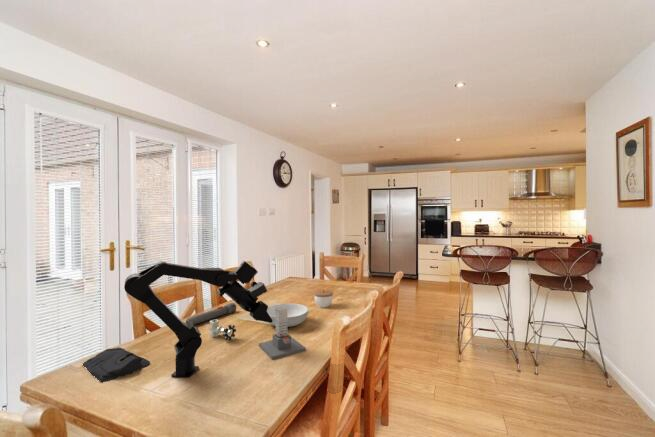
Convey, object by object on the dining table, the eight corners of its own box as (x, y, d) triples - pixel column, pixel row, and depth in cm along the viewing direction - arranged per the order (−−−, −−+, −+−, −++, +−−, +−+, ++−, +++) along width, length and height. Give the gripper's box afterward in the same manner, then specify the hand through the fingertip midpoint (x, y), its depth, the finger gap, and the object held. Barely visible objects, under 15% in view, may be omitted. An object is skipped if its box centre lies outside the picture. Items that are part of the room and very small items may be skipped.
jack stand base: (271, 359, 115) (271, 345, 114) (258, 345, 126) (258, 332, 126) (305, 350, 122) (305, 337, 122) (290, 338, 134) (290, 325, 134)
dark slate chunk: (126, 350, 124) (125, 338, 124) (153, 366, 111) (152, 353, 111) (78, 366, 111) (78, 353, 111) (102, 386, 99) (102, 371, 98)
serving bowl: (256, 329, 144) (256, 315, 144) (275, 315, 164) (275, 302, 164) (300, 333, 139) (300, 318, 139) (313, 318, 159) (313, 304, 159)
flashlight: (183, 327, 148) (183, 316, 148) (230, 310, 172) (230, 301, 172) (190, 329, 146) (190, 318, 146) (236, 312, 170) (236, 303, 170)
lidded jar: (311, 304, 182) (311, 288, 181) (328, 302, 186) (328, 286, 186) (318, 310, 172) (318, 293, 172) (336, 307, 176) (336, 290, 176)
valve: (205, 337, 135) (224, 343, 129) (204, 322, 135) (224, 327, 129) (217, 332, 141) (236, 337, 135) (217, 317, 141) (236, 322, 135)
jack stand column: (279, 339, 122) (279, 310, 121) (275, 335, 125) (275, 307, 124) (287, 337, 124) (287, 308, 123) (283, 334, 127) (283, 306, 126)
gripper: (262, 281, 110) (291, 307, 116) (245, 272, 126) (272, 296, 132) (240, 307, 106) (271, 332, 112) (225, 294, 122) (253, 318, 128)
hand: (267, 318), depth 121 cm, fingers open, 9 cm apart
